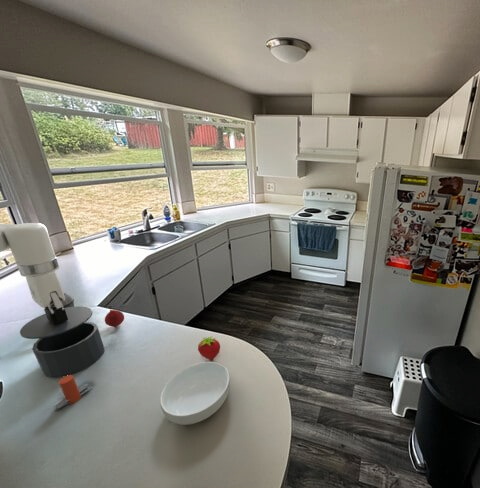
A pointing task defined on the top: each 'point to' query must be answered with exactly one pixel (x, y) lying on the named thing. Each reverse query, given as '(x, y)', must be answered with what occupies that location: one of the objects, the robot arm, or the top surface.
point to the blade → (71, 391)
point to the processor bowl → (69, 350)
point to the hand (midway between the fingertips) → (58, 319)
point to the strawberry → (209, 348)
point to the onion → (114, 318)
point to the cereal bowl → (195, 393)
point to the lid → (46, 328)
